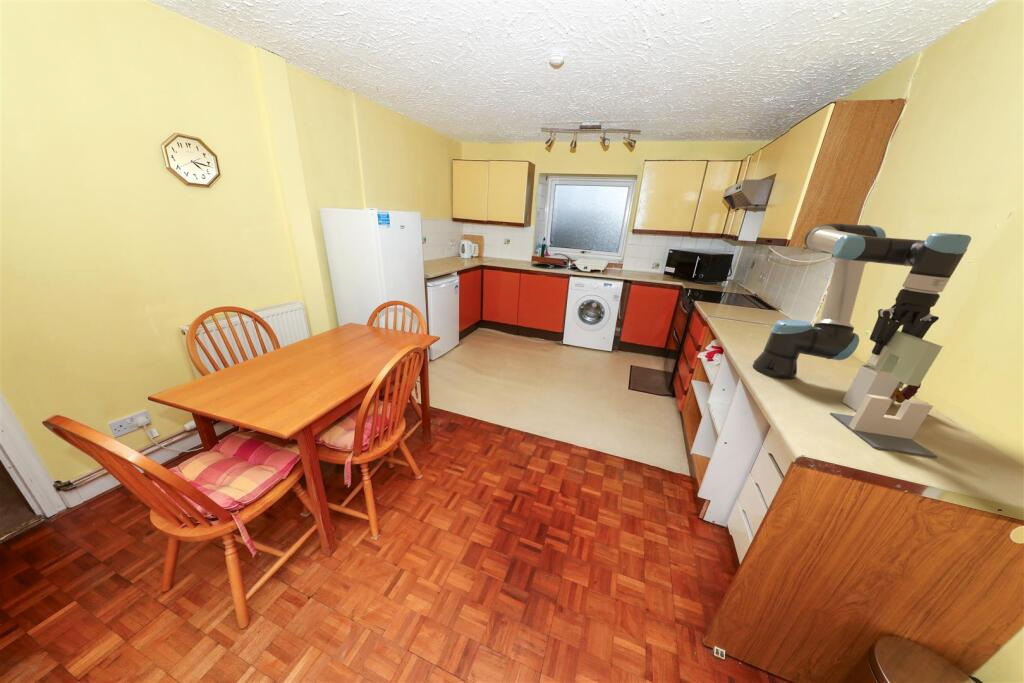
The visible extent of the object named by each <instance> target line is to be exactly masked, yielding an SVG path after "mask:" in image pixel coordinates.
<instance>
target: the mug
mask: <svg viewBox="0 0 1024 683" xmlns="http://www.w3.org/2000/svg"><path fill="white" fill-rule="evenodd" d="M904 385H905V384H904V383H902V382H899V383H898V385H897V387H896V388H895V390H894V392H893V394H892V395H891V397H890V399H892V400H893V401H892V403H891V405H890V406H889V407H892V405H893V404H894V403H895V402H897V403H899V404H903V402H904V401H905V400H911V398H913V397H915V396H916V394H917V393H918V392H919V391H918V390H919V389H921V385H922V382H921V383H920V385H919V386H913V385H906V387H905V386H904ZM903 386H904V387H903ZM900 389H901V390H900Z"/></svg>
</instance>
